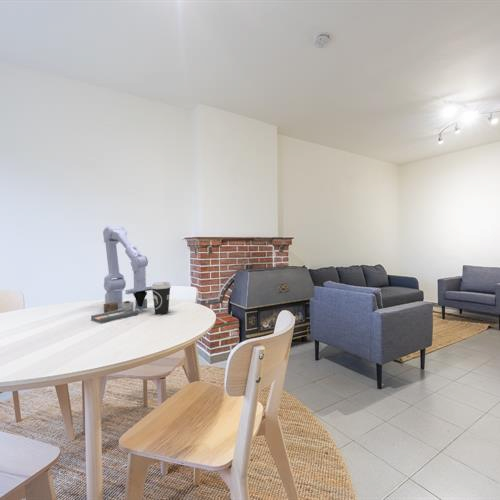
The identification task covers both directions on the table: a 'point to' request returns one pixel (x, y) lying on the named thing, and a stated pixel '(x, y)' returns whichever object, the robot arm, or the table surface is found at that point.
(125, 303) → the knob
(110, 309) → the walnut block
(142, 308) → the slate-blue block
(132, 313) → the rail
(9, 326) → the table surface
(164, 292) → the coffee cup
